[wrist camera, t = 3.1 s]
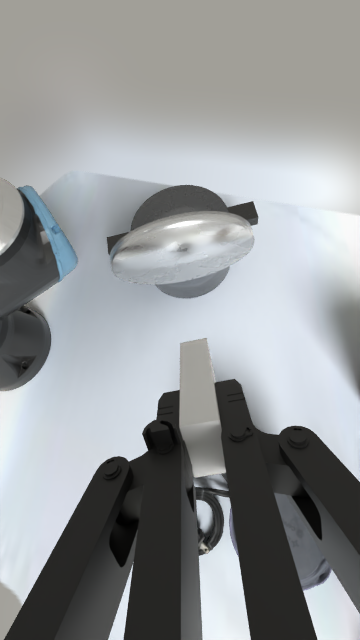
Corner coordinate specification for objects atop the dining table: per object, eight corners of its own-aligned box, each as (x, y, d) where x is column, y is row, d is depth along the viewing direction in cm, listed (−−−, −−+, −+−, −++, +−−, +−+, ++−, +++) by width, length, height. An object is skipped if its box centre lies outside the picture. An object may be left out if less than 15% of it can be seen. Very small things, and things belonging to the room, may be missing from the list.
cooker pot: (131, 311, 53) (109, 285, 44) (123, 241, 58) (102, 204, 49) (263, 282, 51) (269, 248, 41) (242, 211, 56) (243, 168, 47)
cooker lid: (134, 285, 44) (136, 293, 43) (83, 237, 27) (85, 250, 27) (245, 260, 42) (247, 268, 42) (261, 193, 26) (264, 206, 26)
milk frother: (315, 486, 39) (359, 514, 26) (255, 608, 36) (268, 714, 23) (221, 422, 44) (215, 417, 30) (160, 525, 41) (123, 571, 27)
